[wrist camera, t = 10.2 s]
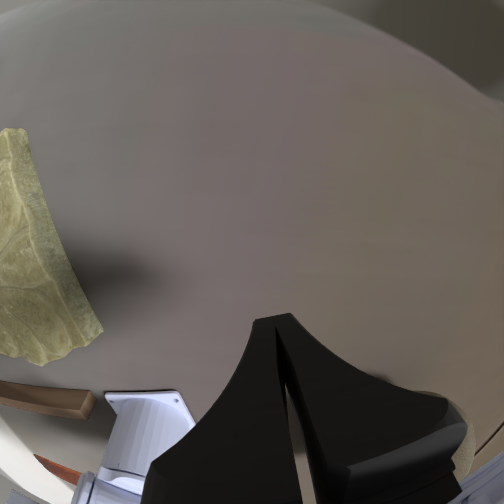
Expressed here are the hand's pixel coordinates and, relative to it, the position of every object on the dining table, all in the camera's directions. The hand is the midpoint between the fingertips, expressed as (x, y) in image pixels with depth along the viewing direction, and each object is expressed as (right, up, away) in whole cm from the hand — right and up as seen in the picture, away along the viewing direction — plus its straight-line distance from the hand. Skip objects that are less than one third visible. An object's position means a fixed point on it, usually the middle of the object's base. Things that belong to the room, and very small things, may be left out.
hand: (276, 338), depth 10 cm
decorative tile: (-25, +2, +9) cm, 26 cm away
